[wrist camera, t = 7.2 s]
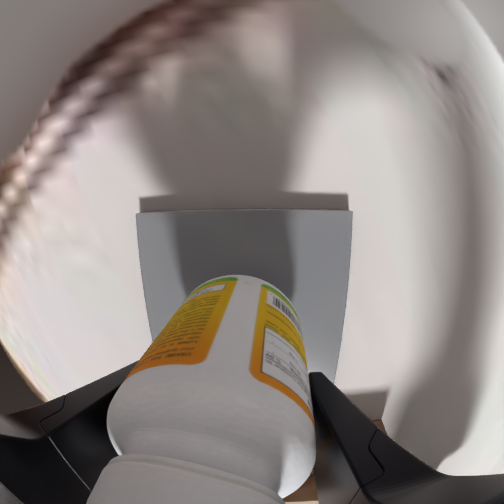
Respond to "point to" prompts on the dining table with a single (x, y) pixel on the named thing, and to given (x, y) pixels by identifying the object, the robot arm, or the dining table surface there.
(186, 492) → the supplement bottle
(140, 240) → the coaster
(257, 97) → the dining table surface
